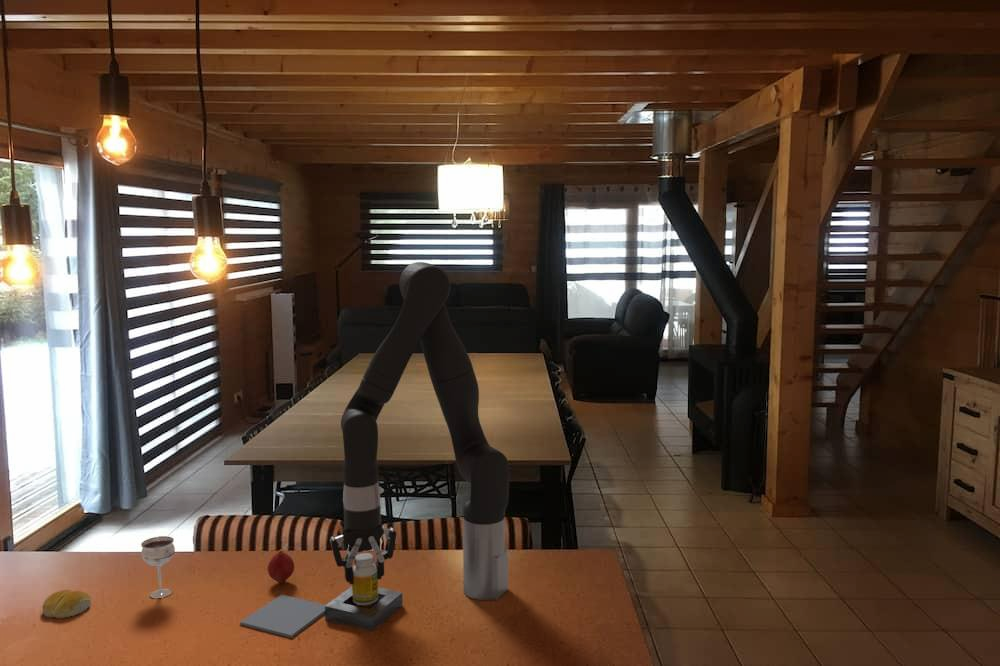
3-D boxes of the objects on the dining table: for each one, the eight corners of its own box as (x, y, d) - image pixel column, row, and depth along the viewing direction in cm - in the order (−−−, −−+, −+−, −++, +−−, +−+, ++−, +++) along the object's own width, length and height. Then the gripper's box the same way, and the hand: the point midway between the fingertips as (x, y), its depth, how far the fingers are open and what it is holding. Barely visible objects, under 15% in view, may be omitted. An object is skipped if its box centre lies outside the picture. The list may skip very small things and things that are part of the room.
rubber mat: (330, 608, 167) (330, 606, 166) (291, 638, 155) (291, 635, 155) (281, 597, 172) (281, 594, 172) (240, 624, 160) (240, 621, 160)
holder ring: (402, 605, 168) (402, 592, 167) (372, 631, 157) (372, 617, 157) (356, 595, 173) (356, 582, 172) (325, 619, 162) (324, 605, 162)
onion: (263, 583, 178) (262, 549, 177) (285, 574, 183) (284, 542, 181) (277, 591, 174) (275, 557, 173) (299, 582, 179) (298, 549, 178)
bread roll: (63, 599, 171) (62, 581, 171) (97, 604, 169) (96, 586, 169) (32, 617, 163) (30, 599, 163) (68, 622, 161) (66, 604, 161)
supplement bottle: (354, 594, 167) (353, 551, 166) (379, 593, 168) (378, 551, 166) (350, 606, 162) (349, 562, 161) (376, 606, 162) (375, 562, 161)
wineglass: (137, 598, 171) (133, 546, 170) (160, 584, 178) (157, 534, 176) (161, 603, 169) (158, 550, 167) (184, 589, 175) (181, 538, 174)
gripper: (329, 514, 156) (333, 594, 158) (400, 504, 161) (402, 581, 163) (324, 501, 163) (327, 578, 165) (391, 492, 168) (394, 567, 170)
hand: (364, 579), depth 164 cm, fingers closed on supplement bottle, 5 cm apart
